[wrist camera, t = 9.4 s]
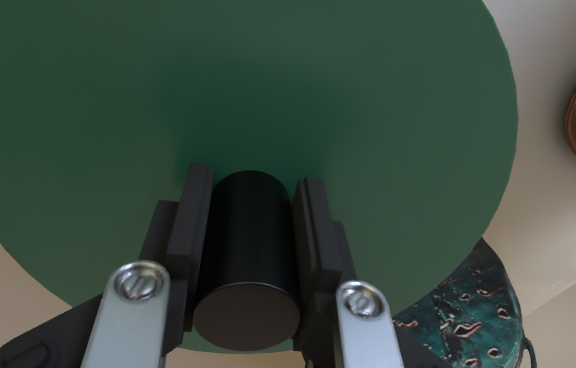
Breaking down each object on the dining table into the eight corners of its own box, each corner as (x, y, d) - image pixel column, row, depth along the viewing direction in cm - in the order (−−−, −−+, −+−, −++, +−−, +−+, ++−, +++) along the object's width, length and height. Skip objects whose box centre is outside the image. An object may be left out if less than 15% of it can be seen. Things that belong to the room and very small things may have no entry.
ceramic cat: (294, 303, 44) (314, 542, 27) (268, 266, 40) (274, 515, 24) (475, 241, 40) (627, 476, 23) (464, 194, 36) (633, 433, 20)
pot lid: (-182, 26, 10) (-541, 122, 6) (493, -272, 8) (813, -514, 3) (153, 366, 20) (121, 505, 15) (504, 276, 18) (592, 407, 13)
